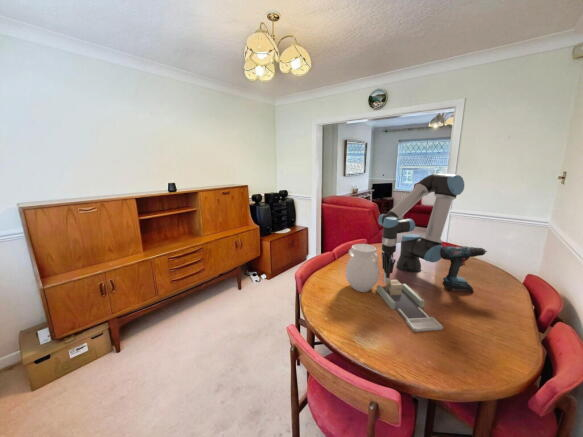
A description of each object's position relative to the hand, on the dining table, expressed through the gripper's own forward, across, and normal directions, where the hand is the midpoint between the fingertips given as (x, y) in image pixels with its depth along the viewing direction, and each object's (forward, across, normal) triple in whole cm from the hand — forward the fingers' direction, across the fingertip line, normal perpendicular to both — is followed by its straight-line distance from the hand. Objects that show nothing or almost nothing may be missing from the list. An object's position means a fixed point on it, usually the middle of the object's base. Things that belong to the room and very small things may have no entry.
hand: (386, 282), depth 147 cm
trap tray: (+2, +37, 0) cm, 37 cm away
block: (+2, +9, 0) cm, 9 cm away
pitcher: (+2, +1, -16) cm, 16 cm away
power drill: (+2, +8, +39) cm, 40 cm away
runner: (+2, +18, 0) cm, 18 cm away
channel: (+2, +15, 0) cm, 15 cm away
